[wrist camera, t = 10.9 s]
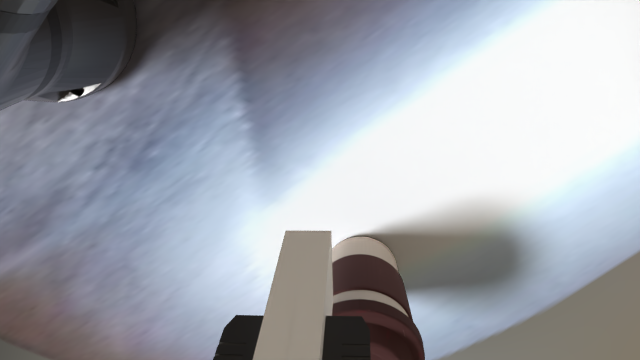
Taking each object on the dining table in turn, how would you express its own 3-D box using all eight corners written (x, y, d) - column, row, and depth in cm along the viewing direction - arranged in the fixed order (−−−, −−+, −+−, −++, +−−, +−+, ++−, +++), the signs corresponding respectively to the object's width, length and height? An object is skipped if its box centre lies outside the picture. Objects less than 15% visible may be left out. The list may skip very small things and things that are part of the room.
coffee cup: (362, 204, 48) (363, 302, 35) (429, 266, 51) (455, 381, 37) (293, 262, 52) (269, 372, 38) (359, 318, 54) (359, 441, 40)
